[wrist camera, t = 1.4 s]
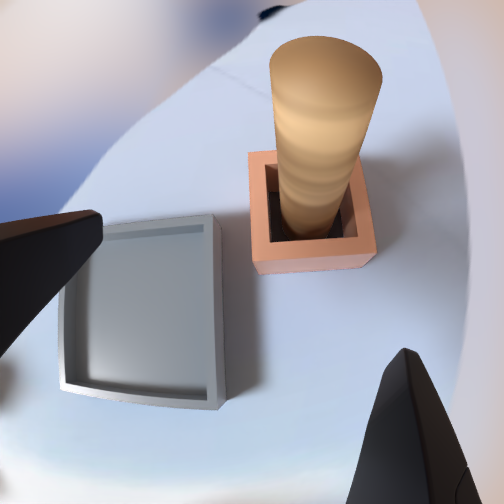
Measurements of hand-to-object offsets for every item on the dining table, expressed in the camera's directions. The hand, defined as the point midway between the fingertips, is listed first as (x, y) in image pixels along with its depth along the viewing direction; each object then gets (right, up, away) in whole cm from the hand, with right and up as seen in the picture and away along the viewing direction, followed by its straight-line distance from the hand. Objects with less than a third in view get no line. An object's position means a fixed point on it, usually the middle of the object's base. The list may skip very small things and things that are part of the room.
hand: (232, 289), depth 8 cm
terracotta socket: (+4, +3, +14) cm, 15 cm away
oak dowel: (+4, +3, +14) cm, 15 cm away
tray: (-7, -4, +13) cm, 16 cm away
